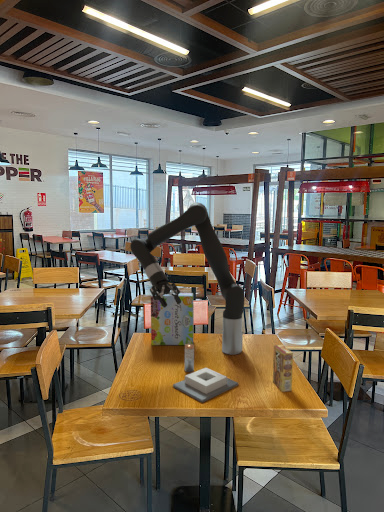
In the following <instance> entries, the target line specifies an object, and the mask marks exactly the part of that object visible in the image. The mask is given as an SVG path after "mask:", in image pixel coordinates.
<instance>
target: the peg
mask: <svg viewBox="0 0 384 512" xmlns="http://www.w3.org/2000/svg"><path fill="white" fill-rule="evenodd" d="M184 371H185V372H186V373H193V372H195V344H194V343H193V344H186V345H184Z"/></svg>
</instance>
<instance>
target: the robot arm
mask: <svg viewBox="0 0 384 512" xmlns="http://www.w3.org/2000/svg"><path fill="white" fill-rule="evenodd" d="M191 227H195V229H196V231H197V233H198V236H199V240H200V244H201V248H202V251H203V254H204V257H205V259H206V261H207V263H208V265H209V268H210V269H211V272H212V273H213V275H214V276H215V278H216V281H217V284H218V286H219V289H220V293H221V296H222V298H223V299H224V300H225V306H224V310H223V311H222V333H221V334H222V338H221V339H222V341H221V342H222V343H221V344H222V345H221V351H222V353H223V354H226V355H231V356H233V355H239V354H241V353H242V351H243V342H244V341H243V337H244V336H243V335H244V334H243V333H244V332H243V329H242V328H243V314H244V310H245V291H244V289H243V288H242V286H240V285H238V284H237V283H236V282H235V280H234V278H233V275H232V274H231V271H230V268H229V261H228V257H227V254H226V252H225V249H224V247H223V245H222V243H221V240H220V239H219V236H218V234H217V233H216V231H215V229H214V227H213V225H212V222H211V219H210V217H209V213H208V209H207V207H206V206H205V204H203V203H201V202H192V204H190V205H189V207H187V209H186V211H184V212H183V213H182V214H181V215H179V216H178V217H176V218H175V219H173V220H171V221H169V222H166V223H165V224H162V225H161V226H160V227H157V228H155V229H154V230H152V231H151V232H149V233H148V234H147V239H145V240H143V239H141V238H134V239H133V240H131V242H130V245H129V248H130V250H131V252H132V254H133V255H134V257H135V258H136V260H138V262H139V263H140V265H141V267H142V268H143V270H144V272H145V275H146V277H147V278H148V280H149V282H150V284H151V288H149V291H150V293H151V295H152V296H153V298H154V300H158V301H160V303H161V305H162V306H163V307H164V308H165V307H166V306H167V303H166V301H165V299H164V298H163V295H165V294H166V295H167V294H168V295H171V296H173V297H174V299H175V301H176V303H177V304H180V303H181V299H180V298H179V296H178V295H179V294H180V293H181V291H180V289H179V288H178V286H177V284H176V283H175V282H172V283H169V281H168V280H169V279H168V277H167V275H166V274H165V272H164V270H163V269H162V267H161V265H160V264H159V262H158V260H157V258H156V257H155V256H154V255H153V254H152V252H153V251H154V250H155V249H156V248H157V247H158V246H159V245H162V244H163V243H165V242H167V241H168V240H170V239H171V238H173V237H174V236H176V235H177V234H179V233H181V232H183V231H185V230H187V229H189V228H191ZM173 293H174V294H175V295H174V294H173ZM155 295H156V296H155Z"/></svg>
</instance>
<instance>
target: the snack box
mask: <svg viewBox="0 0 384 512" xmlns="http://www.w3.org/2000/svg"><path fill="white" fill-rule="evenodd" d="M173 294H174V293H173ZM174 295H175V294H174ZM155 296H156V295H155ZM178 296H179V298H180V299H181V303H180V304H177V303H176V301H175V299H174V297H173V296H171V295H168V294H167V295H166V294H165V295H163V298H164V299H165V301H166V303H167V306H166V307H165V308H164V307H163V306H162V305H161V303H160V301H158V300H154V298H153V296H152V294H151V295H150V335H151V336H150V339H151V340H150V341H151V345H150V346H185V345H186V344H193V345H194V337H195V336H194V335H195V334H194V332H195V330H194V327H195V326H194V325H195V324H194V321H195V320H194V319H195V318H194V316H195V315H194V313H195V312H194V310H195V309H194V307H195V306H194V293H193V292H180V294H179V295H178Z"/></svg>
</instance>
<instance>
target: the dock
mask: <svg viewBox="0 0 384 512" xmlns="http://www.w3.org/2000/svg"><path fill="white" fill-rule="evenodd" d="M238 386H239V382H238V381H235V380H233V379H231V378H228V376H226V375H223V374H221V373H219V372H217V371H215V370H212V369H210V368H208V367H204V368H201V369H198V370H197V371H193V372H190V373H188V374H186V375H184V380H181V381H178V382H175V383H173V384H172V387H173V388H174V389H176V390H178V391H180V392H181V393H184V395H187V396H189V397H191V398H193V399H195V400H196V401H198V402H200V403H203V404H204V402H206V401H208V400H209V401H210V400H211V399H212V398H215V397H217V396H219V395H221V394H223V393H226V392H227V391H229V390H232V389H233V388H235V387H238Z"/></svg>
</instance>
